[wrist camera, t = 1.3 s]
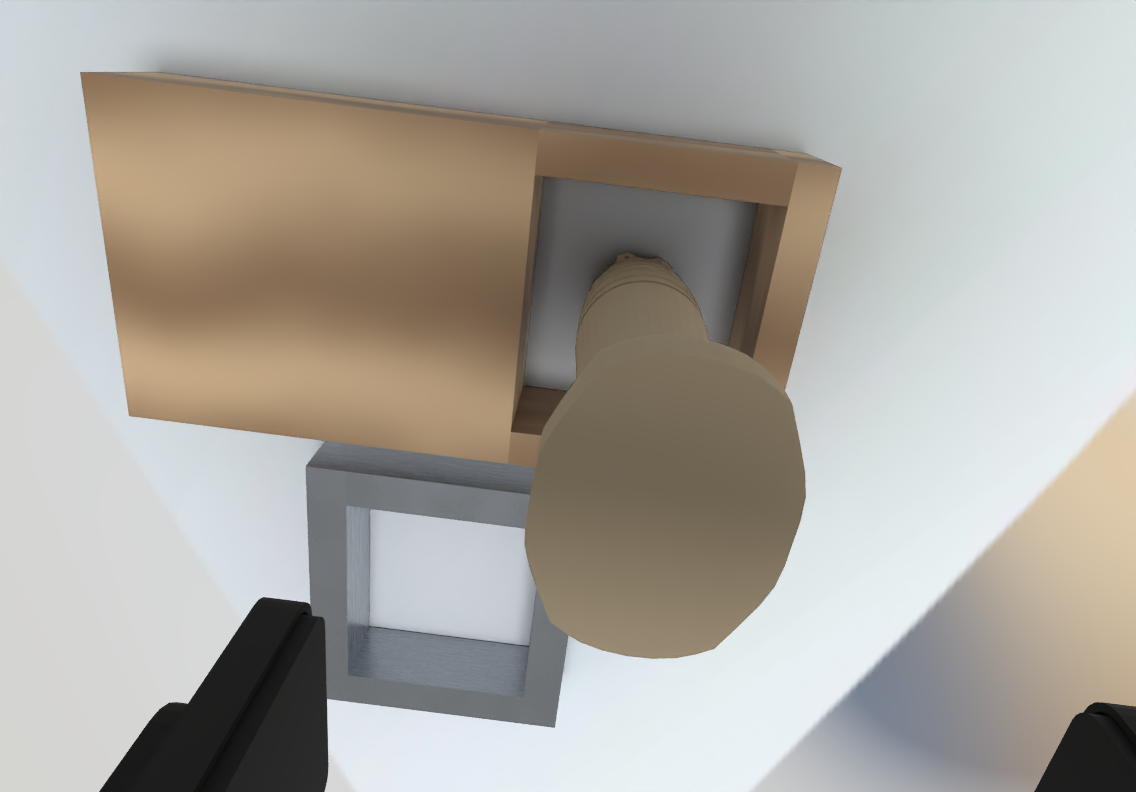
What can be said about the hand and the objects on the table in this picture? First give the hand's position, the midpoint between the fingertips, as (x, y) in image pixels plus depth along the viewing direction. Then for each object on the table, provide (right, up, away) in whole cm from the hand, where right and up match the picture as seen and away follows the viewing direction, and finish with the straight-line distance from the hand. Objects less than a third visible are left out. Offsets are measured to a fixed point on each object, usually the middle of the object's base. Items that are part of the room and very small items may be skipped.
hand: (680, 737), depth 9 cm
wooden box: (-5, +9, +18) cm, 20 cm away
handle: (+1, +8, +18) cm, 20 cm away
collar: (-6, -3, +23) cm, 24 cm away
